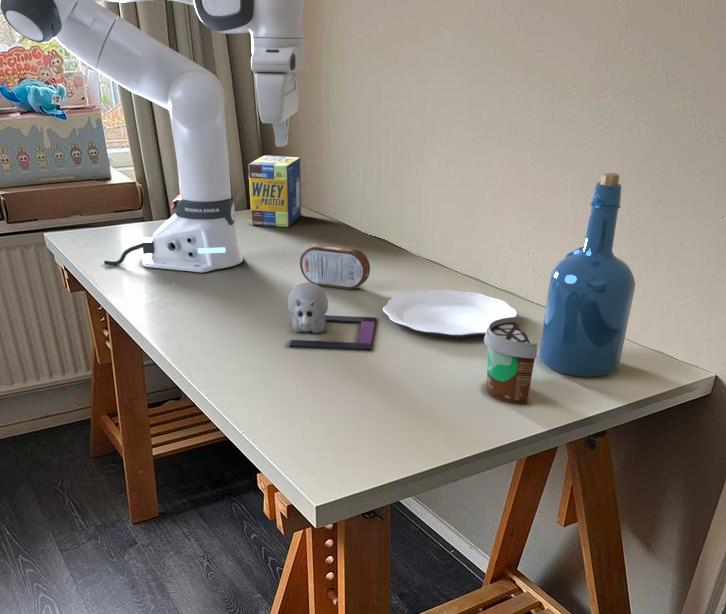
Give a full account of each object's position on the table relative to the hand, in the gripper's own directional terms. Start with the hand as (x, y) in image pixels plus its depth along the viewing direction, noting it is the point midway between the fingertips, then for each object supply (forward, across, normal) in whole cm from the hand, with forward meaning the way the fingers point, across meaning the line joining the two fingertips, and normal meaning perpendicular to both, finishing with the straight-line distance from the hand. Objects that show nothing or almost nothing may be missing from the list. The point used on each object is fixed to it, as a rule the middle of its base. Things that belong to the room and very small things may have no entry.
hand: (281, 145), depth 138 cm
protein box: (+29, -71, -14) cm, 78 cm away
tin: (+29, -13, +8) cm, 33 cm away
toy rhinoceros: (+29, +16, +6) cm, 34 cm away
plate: (+29, +5, +32) cm, 44 cm away
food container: (+29, +37, +39) cm, 61 cm away
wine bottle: (+29, +24, +53) cm, 65 cm away
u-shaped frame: (+29, +14, +11) cm, 34 cm away
